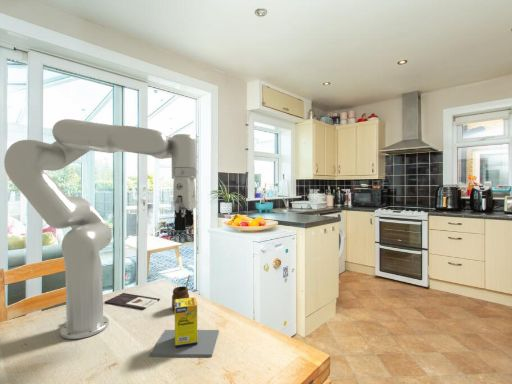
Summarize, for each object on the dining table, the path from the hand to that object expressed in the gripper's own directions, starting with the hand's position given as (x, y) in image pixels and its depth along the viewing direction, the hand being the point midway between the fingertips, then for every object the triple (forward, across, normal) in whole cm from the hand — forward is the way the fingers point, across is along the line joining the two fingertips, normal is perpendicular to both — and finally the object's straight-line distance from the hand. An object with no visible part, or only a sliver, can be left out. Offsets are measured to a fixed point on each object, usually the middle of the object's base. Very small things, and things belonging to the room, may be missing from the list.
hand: (184, 227), depth 88 cm
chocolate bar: (+31, +16, +24) cm, 42 cm away
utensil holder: (+31, +10, +4) cm, 32 cm away
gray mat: (+30, -12, -4) cm, 33 cm away
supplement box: (+30, -12, -3) cm, 32 cm away
